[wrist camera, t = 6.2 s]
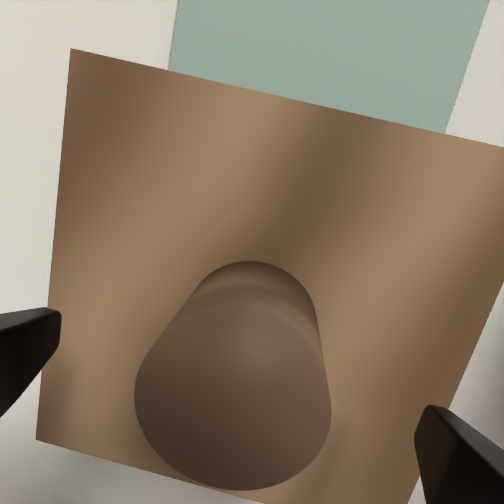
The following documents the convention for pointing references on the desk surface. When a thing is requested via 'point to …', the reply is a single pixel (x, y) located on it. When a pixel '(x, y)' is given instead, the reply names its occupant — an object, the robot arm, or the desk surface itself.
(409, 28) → the mat
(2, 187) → the desk surface
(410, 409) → the lid
